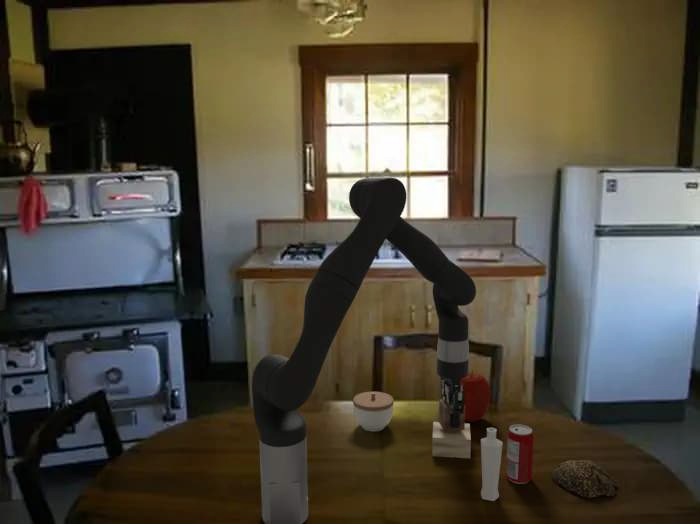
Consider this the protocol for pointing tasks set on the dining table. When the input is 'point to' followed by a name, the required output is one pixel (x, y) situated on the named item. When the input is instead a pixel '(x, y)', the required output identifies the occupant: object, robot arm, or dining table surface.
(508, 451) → the soda can
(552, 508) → the dining table surface
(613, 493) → the bread roll
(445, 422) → the walnut block
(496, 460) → the perfume bottle
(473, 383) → the apple
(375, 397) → the lidded jar
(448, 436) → the birch block
